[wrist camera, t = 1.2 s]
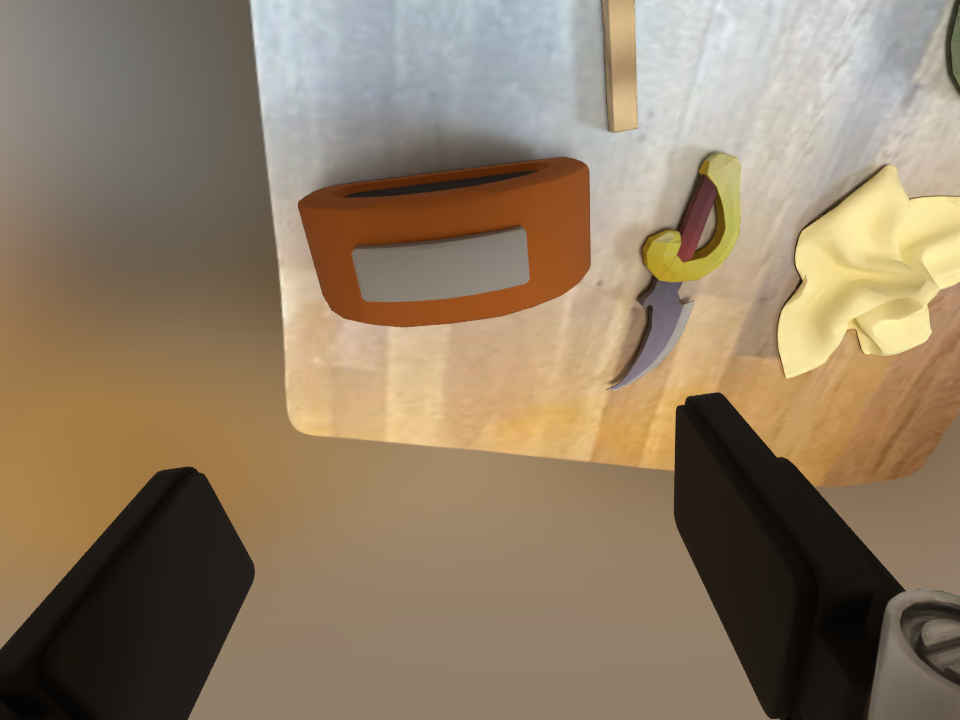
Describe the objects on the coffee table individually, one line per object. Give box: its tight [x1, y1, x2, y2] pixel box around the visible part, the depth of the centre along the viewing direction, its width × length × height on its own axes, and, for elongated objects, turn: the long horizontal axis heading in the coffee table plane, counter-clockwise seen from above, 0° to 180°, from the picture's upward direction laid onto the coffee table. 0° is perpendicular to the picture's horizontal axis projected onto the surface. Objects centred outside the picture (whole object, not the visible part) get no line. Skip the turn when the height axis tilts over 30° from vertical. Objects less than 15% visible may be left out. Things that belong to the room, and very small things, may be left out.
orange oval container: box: [298, 157, 591, 327], centre depth 39 cm, size 23×9×17 cm, turn 97°
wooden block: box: [602, 0, 638, 133], centre depth 40 cm, size 10×2×2 cm, turn 10°
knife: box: [606, 153, 741, 390], centre depth 48 cm, size 8×3×25 cm
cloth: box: [777, 165, 960, 378], centre depth 47 cm, size 22×19×6 cm
